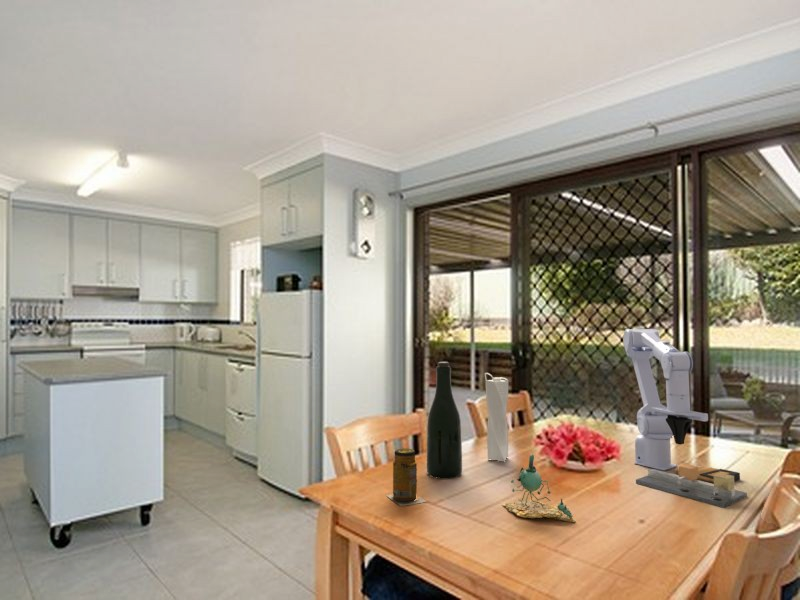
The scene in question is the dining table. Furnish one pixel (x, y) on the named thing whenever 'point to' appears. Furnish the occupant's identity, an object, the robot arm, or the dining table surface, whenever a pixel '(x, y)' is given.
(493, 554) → the dining table surface
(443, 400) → the dark green wine bottle
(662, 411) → the robot arm
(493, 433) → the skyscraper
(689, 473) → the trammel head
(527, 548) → the dining table surface
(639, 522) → the dining table surface
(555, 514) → the green creature figurine
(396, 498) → the condiment
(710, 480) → the ammunition clip
